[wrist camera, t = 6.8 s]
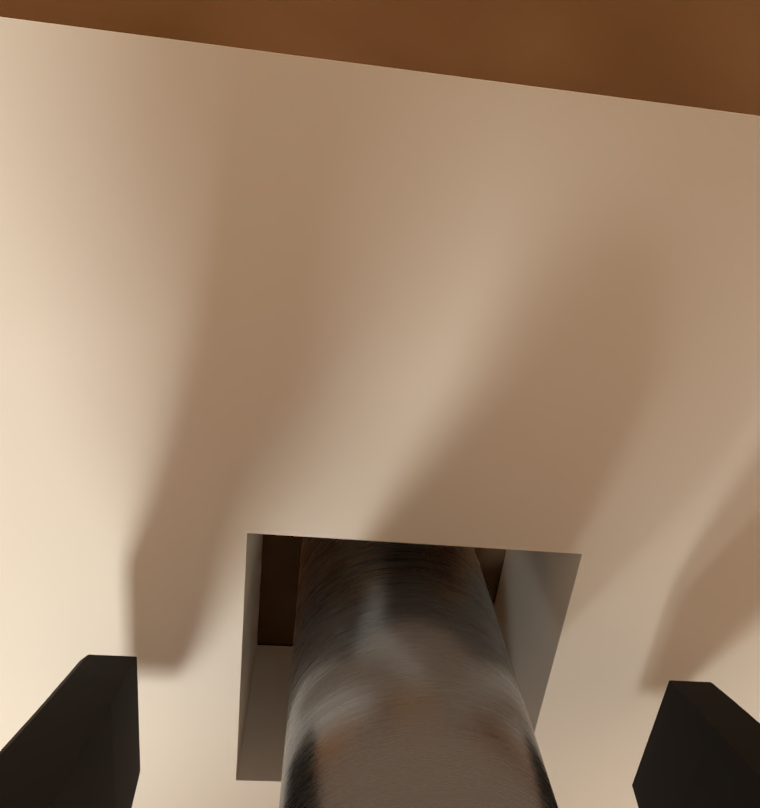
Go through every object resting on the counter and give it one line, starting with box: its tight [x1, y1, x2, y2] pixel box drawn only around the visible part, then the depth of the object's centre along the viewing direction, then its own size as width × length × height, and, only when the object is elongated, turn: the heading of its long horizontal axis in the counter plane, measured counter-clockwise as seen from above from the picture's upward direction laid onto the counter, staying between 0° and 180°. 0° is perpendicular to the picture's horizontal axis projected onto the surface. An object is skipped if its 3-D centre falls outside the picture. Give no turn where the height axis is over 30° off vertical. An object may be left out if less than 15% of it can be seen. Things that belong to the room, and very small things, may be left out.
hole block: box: [0, 17, 760, 808], centre depth 11 cm, size 16×16×3 cm
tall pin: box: [279, 537, 558, 808], centre depth 9 cm, size 3×3×8 cm
